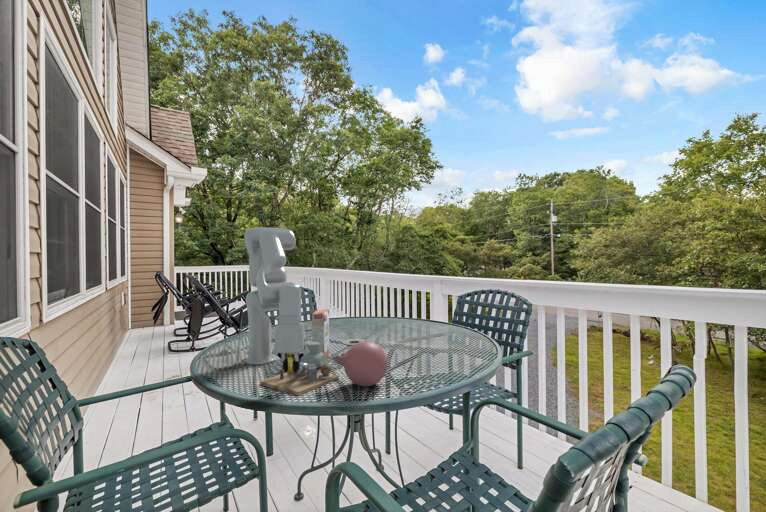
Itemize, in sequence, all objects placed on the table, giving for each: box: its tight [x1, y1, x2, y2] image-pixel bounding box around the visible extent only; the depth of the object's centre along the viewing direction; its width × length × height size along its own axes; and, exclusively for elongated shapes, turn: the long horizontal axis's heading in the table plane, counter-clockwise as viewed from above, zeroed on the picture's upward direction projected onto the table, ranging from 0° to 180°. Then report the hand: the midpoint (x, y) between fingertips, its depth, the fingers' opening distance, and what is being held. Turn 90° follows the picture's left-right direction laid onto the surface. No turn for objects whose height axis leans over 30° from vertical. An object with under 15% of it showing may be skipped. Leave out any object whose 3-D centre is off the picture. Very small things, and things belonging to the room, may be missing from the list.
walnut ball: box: [319, 363, 332, 375], centre depth 139 cm, size 4×4×4 cm
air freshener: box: [300, 341, 327, 369], centre depth 156 cm, size 11×8×10 cm
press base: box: [259, 364, 339, 397], centre depth 137 cm, size 20×20×6 cm
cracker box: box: [311, 308, 330, 357], centre depth 172 cm, size 14×6×21 cm, turn 179°
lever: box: [287, 353, 308, 379], centre depth 137 cm, size 16×4×9 cm, turn 174°
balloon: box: [331, 340, 388, 387], centre depth 133 cm, size 15×20×15 cm
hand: (291, 371), depth 131 cm, fingers closed on lever, 2 cm apart
